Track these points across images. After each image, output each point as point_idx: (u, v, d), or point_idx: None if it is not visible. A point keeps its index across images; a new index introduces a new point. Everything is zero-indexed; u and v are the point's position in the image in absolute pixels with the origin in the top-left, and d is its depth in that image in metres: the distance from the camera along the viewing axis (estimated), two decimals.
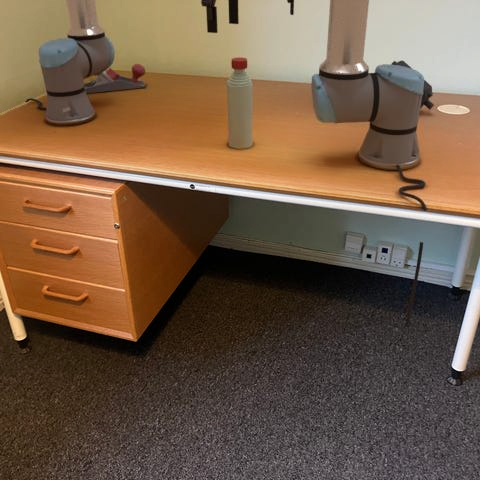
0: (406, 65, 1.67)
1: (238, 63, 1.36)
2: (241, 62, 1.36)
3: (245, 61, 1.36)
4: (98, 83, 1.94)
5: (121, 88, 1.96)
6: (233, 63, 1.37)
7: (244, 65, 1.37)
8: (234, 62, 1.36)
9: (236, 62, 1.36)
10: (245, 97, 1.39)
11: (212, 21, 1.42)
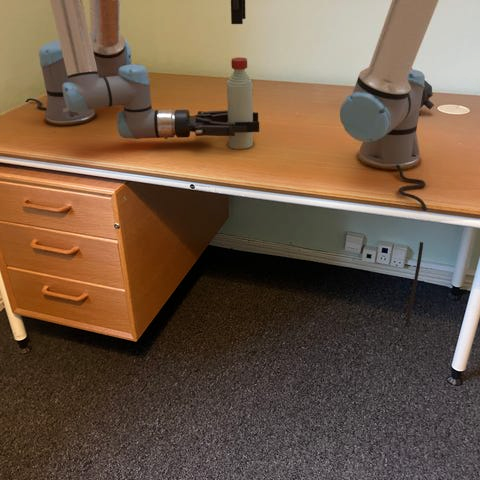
0: None
1: (238, 63, 1.36)
2: (241, 62, 1.36)
3: (245, 61, 1.36)
4: None
5: None
6: (233, 63, 1.37)
7: (244, 65, 1.37)
8: (234, 62, 1.36)
9: (236, 62, 1.36)
10: (245, 97, 1.39)
11: None
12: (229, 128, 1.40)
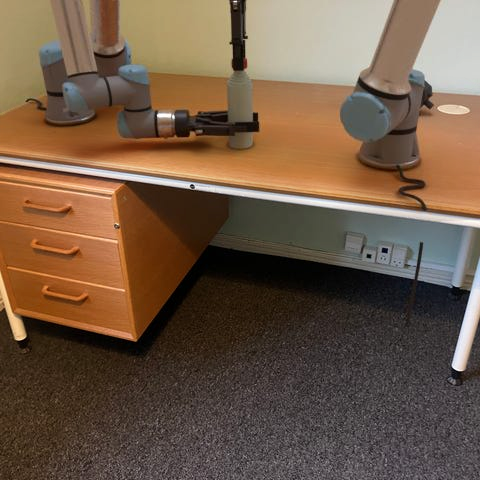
0: None
1: None
2: None
3: (245, 61, 1.36)
4: None
5: None
6: None
7: (244, 65, 1.37)
8: None
9: None
10: (245, 97, 1.39)
11: None
12: (229, 128, 1.40)
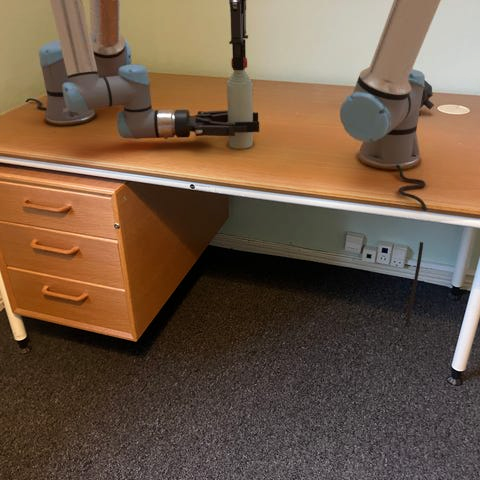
0: None
1: (246, 60, 1.38)
2: None
3: None
4: None
5: None
6: (245, 62, 1.37)
7: None
8: (246, 60, 1.37)
9: (246, 60, 1.37)
10: (245, 97, 1.39)
11: None
12: (229, 128, 1.40)
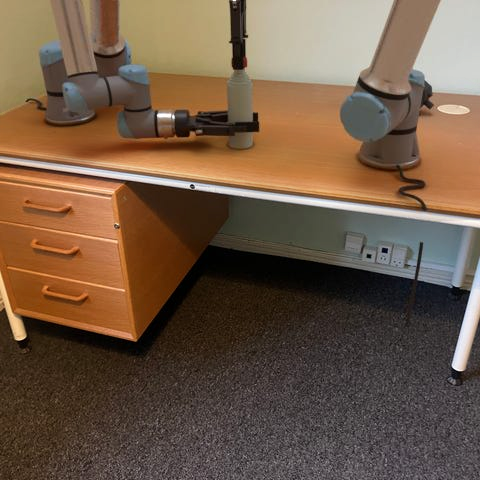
0: None
1: None
2: None
3: None
4: None
5: None
6: None
7: None
8: None
9: None
10: (245, 97, 1.39)
11: None
12: (229, 128, 1.40)
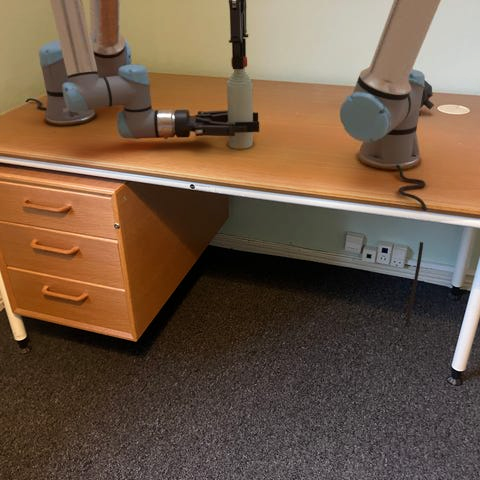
0: None
1: None
2: None
3: None
4: None
5: None
6: None
7: None
8: (231, 59, 1.37)
9: (231, 59, 1.37)
10: (245, 97, 1.39)
11: None
12: (229, 128, 1.40)
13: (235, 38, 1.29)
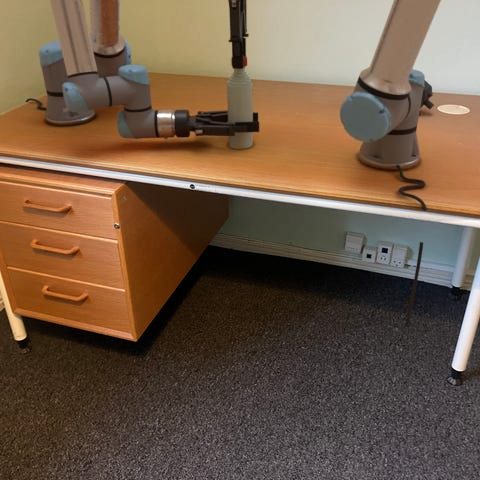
0: None
1: (244, 60, 1.36)
2: (246, 59, 1.37)
3: None
4: None
5: None
6: None
7: (246, 61, 1.38)
8: None
9: (243, 60, 1.36)
10: (245, 97, 1.39)
11: None
12: (229, 128, 1.40)
13: (235, 37, 1.29)
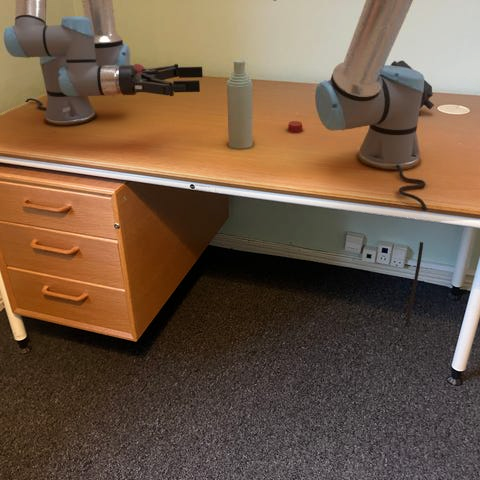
0: (406, 65, 1.67)
1: None
2: None
3: None
4: None
5: None
6: None
7: None
8: None
9: None
10: (245, 97, 1.39)
11: None
12: (165, 86, 1.31)
13: None
